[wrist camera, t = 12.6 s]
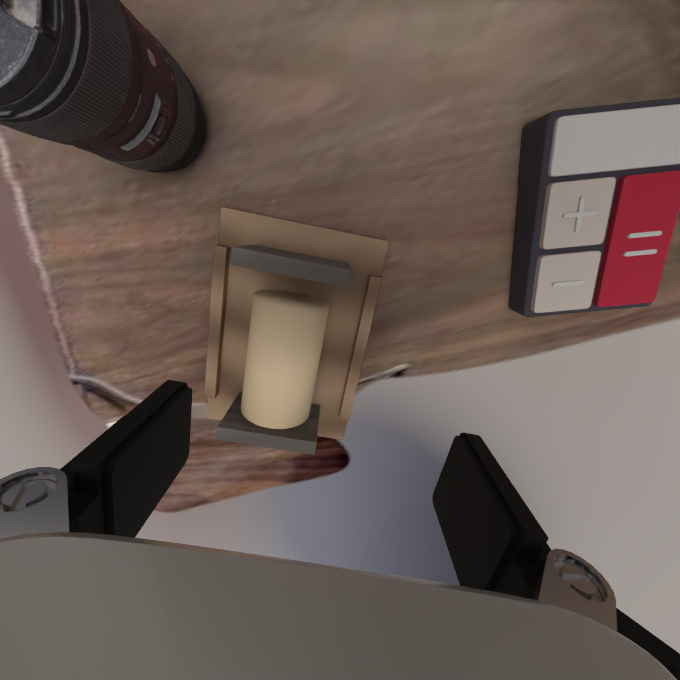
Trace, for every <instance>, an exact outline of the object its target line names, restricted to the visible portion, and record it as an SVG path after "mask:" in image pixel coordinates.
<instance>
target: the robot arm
mask: <svg viewBox="0 0 680 680" xmlns="http://www.w3.org/2000/svg"><path fill="white" fill-rule="evenodd" d="M191 406H192V389H191V388H188V386H187V383H184V382H179V381H173V380H167V381H166V382H165V383H163V384H162V385H161V386H160V387H159V388H158V389H156V390H155V391H154V392H153V393H152V394H150V395H149V396H148V397H147V398H146V399H145V400H143V401H142V402H141V403H140V404H139V405H137V406H136V407H135V408H134V409H133V410H132V411H130V412H129V413H128V414H126V415H125V416H123V417H122V418H121V419H120V420H118V421H117V422H116V423H115V424H114V425H112V426H111V427H110V428H109V429H108V430H106V431H105V432H104V433H103V434H102V435H101V436H99V437H98V438H97V439H96V440H95V441H93V442H92V443H91V444H90V445H89V446H88V447H86V448H85V449H84V450H83V451H81V452H80V453H79V454H78V455H77V456H76V457H74V458H73V459H72V460H71V461H70V462H68V463H67V464H66V465H65V466H64V467H62V468H61V469H56V468H51V467H37V468H31V469H26V470H23V471H19V472H16V473H13V474H11V475H9V476H7V477H4V478H2V479H0V680H680V654H679V653H678V652H676V651H675V650H674V649H672V648H671V647H670V646H668V645H666V644H665V643H664V642H663V641H661V640H660V639H658V638H657V637H656V636H654V635H653V634H652V633H650V632H649V631H647V630H646V629H645V628H643V627H642V626H641V625H639V624H638V623H636V622H635V621H634V620H632V619H631V618H630V617H628V616H627V615H625V614H624V613H623V612H621V611H620V610H619V609H617V608H616V599H615V595H614V592H613V590H612V588H611V587H610V585H609V583H608V582H607V581H606V580H605V578H604V577H603V576H602V575H601V574H600V573H599V572H598V571H597V570H596V569H595V568H594V567H593V566H592V565H591V564H589V563H588V562H586V561H585V560H584V559H582V558H581V557H579V556H577V555H575V554H573V553H572V552H569V551H566V550H563V549H554V550H551V549H550V548H549V546H548V544H547V543H546V542H547V540H548V537H547V535H546V534H545V532H544V531H543V529H542V528H541V526H540V525H539V523H538V522H537V520H536V519H535V517H534V516H533V514H532V513H531V511H530V510H529V508H528V507H527V506H526V504H525V502H524V501H523V499H522V498H521V496H520V495H519V493H518V492H517V490H516V489H515V488H514V486H513V485H512V483H511V482H510V480H509V479H508V477H507V476H506V474H505V473H504V471H503V470H502V468H501V467H500V465H499V464H498V462H497V461H496V459H495V458H494V456H493V455H492V453H491V452H490V450H489V449H488V447H487V446H486V444H485V443H484V441H483V440H482V438H481V437H480V436H478V435H474V434H468V433H461V434H460V435H459V436H456V437H455V438H454V440H453V443H452V446H451V448H450V451H449V453H448V456H447V459H446V461H445V464H444V467H443V470H442V472H441V474H440V477H439V480H438V482H437V485H436V487H435V490H434V493H433V505H434V508H435V511H436V514H437V517H438V520H439V523H440V526H441V529H442V532H443V535H444V538H445V541H446V544H447V547H448V550H449V553H450V556H451V559H452V562H453V565H454V568H455V571H456V574H457V577H458V580H459V583H460V586H458V585H452V584H445V583H439V582H432V581H426V580H420V579H413V578H407V577H401V576H394V575H388V574H382V573H376V572H369V571H362V570H355V569H349V568H343V567H336V566H329V565H323V564H316V563H310V562H303V561H295V560H289V559H282V558H276V557H269V556H263V555H255V554H249V553H242V552H235V551H227V550H221V549H214V548H207V547H200V546H193V545H186V544H179V543H172V542H164V541H156V540H148V539H140V538H135V536H136V535H137V534H138V532H139V531H140V529H141V527H142V526H143V525H144V523H145V522H146V520H147V519H148V517H149V516H150V514H151V513H152V512H153V510H154V509H155V507H156V506H157V504H158V503H159V501H160V500H161V498H162V497H163V495H164V494H165V492H166V491H167V489H168V488H169V487H170V485H171V484H172V482H173V481H174V479H175V478H176V476H177V475H178V473H179V472H180V470H181V469H182V467H183V466H184V464H185V463H186V461H187V458H188V455H189V445H190V425H191Z"/></svg>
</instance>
